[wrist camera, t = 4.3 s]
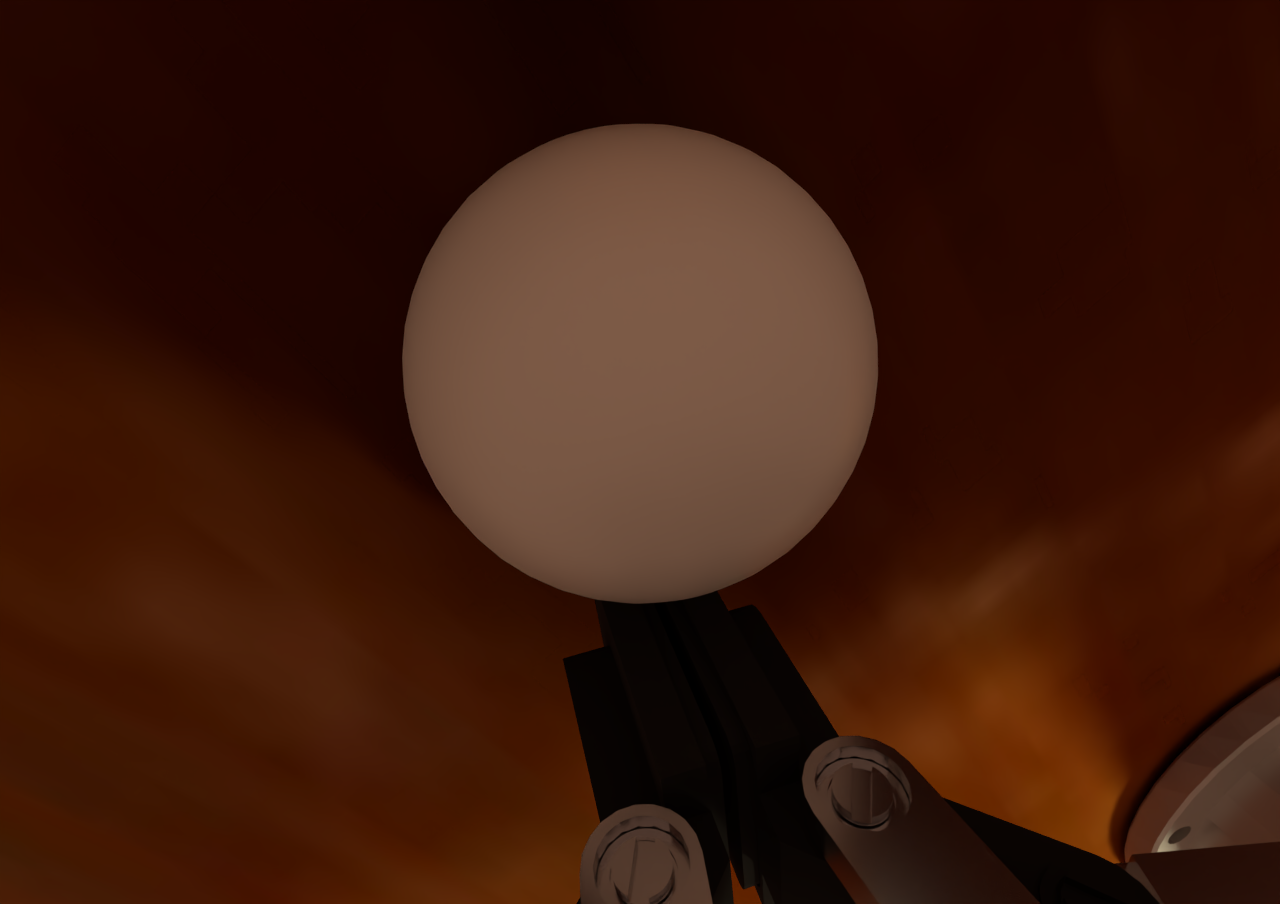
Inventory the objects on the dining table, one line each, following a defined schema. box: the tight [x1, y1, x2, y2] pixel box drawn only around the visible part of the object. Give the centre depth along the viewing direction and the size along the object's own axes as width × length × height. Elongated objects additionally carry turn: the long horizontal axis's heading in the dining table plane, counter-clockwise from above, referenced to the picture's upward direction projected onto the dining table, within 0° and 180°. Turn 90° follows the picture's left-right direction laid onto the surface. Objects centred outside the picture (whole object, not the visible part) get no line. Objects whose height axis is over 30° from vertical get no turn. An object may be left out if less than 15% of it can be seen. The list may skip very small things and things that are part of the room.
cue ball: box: [402, 124, 878, 604], centre depth 8 cm, size 6×6×6 cm
